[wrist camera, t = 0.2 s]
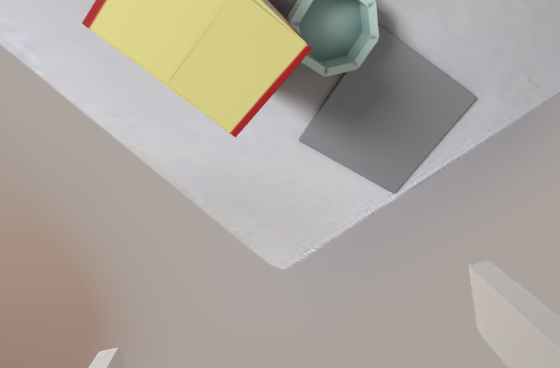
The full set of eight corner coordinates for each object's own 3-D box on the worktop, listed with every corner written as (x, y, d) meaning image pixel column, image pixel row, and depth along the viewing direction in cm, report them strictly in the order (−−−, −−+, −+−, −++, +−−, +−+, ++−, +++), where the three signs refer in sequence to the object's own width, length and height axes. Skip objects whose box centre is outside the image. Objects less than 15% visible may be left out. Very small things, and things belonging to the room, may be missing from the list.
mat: (378, 24, 35) (379, 25, 35) (474, 95, 40) (476, 97, 39) (299, 139, 40) (299, 141, 40) (392, 191, 45) (393, 193, 44)
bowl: (317, -39, 32) (325, -39, 29) (381, 10, 35) (395, 15, 32) (272, 38, 35) (275, 45, 32) (334, 79, 37) (343, 89, 34)
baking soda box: (146, -3, 32) (79, 24, 19) (192, -73, 30) (155, -100, 17) (235, 71, 36) (235, 139, 22) (282, 14, 34) (313, 50, 20)
